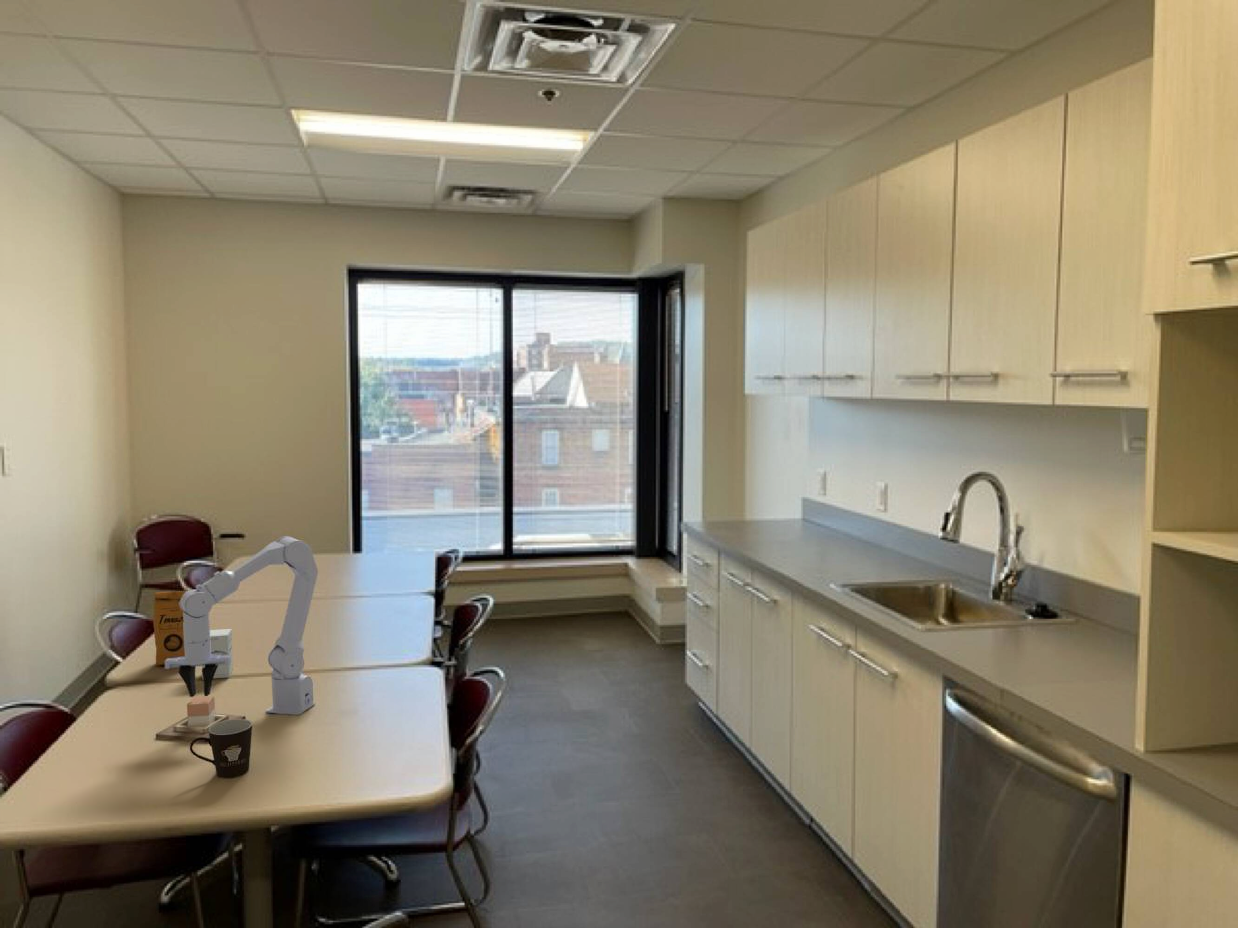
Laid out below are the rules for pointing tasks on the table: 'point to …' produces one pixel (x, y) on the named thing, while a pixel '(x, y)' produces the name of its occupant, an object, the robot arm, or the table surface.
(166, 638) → the coffee package
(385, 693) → the table surface
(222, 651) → the supplement box
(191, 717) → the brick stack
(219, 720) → the walnut board
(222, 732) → the coffee mug
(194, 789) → the table surface
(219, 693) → the table surface
